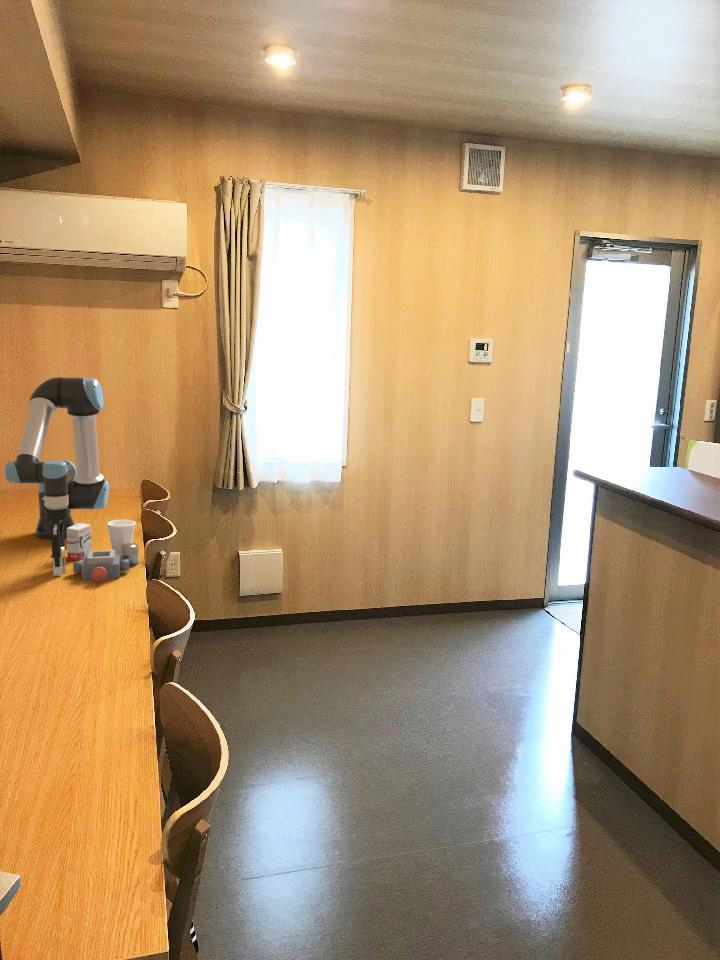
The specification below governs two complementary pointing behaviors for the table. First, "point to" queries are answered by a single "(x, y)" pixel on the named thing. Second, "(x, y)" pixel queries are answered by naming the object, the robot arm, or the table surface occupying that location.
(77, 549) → the ink box
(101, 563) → the valve body
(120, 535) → the cup
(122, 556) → the steel nipple large
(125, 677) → the table surface
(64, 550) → the brass cylinder
